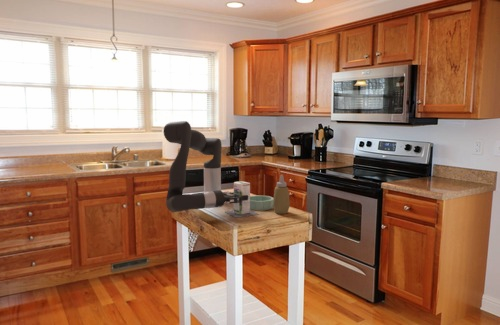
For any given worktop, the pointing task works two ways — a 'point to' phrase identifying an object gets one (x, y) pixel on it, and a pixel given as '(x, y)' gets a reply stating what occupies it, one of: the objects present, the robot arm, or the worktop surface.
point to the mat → (241, 214)
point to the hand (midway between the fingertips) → (243, 195)
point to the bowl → (261, 202)
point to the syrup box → (240, 190)
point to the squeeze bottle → (281, 197)
